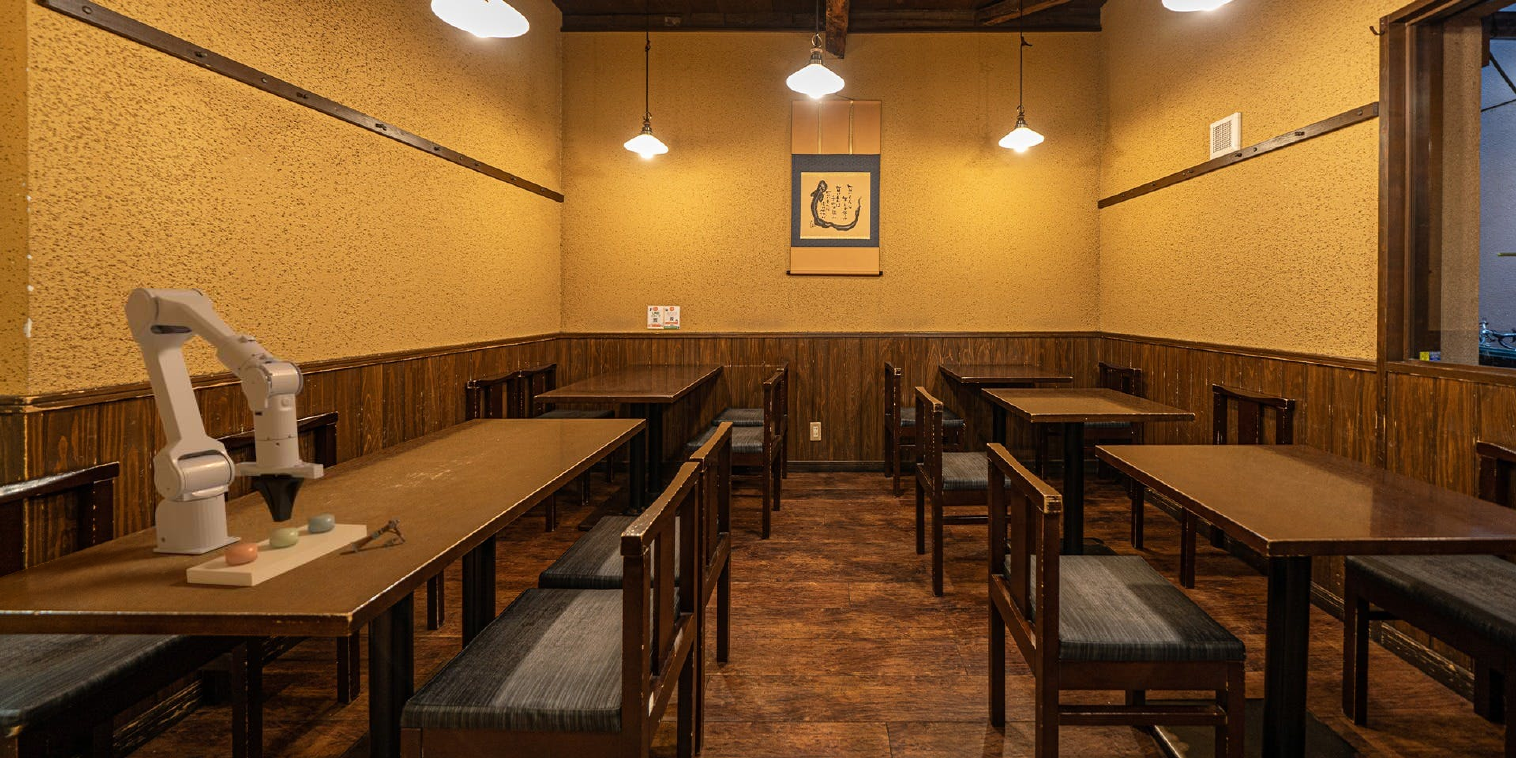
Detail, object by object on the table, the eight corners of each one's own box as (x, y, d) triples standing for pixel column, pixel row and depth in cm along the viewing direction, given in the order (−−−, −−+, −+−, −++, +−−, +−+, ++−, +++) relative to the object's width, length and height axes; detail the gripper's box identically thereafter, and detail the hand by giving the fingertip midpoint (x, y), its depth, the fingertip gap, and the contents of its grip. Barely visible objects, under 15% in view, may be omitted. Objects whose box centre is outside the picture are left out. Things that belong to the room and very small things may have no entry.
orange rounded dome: (218, 563, 109) (217, 550, 109) (241, 554, 113) (240, 542, 112) (242, 564, 108) (241, 551, 108) (264, 555, 112) (263, 543, 112)
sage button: (263, 546, 117) (262, 534, 116) (283, 538, 121) (282, 527, 120) (285, 547, 116) (284, 535, 116) (304, 539, 120) (303, 527, 120)
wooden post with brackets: (411, 538, 125) (398, 517, 123) (364, 566, 121) (350, 543, 120) (409, 536, 126) (396, 514, 125) (363, 563, 123) (349, 541, 121)
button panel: (187, 582, 108) (186, 569, 107) (312, 533, 131) (311, 522, 131) (252, 586, 106) (251, 572, 106) (366, 536, 129) (366, 525, 129)
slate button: (302, 531, 124) (301, 520, 124) (320, 524, 128) (319, 513, 128) (323, 532, 124) (322, 521, 124) (340, 525, 128) (339, 514, 128)
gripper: (335, 434, 119) (340, 515, 121) (258, 432, 122) (263, 511, 123) (301, 441, 112) (307, 527, 114) (220, 439, 115) (227, 523, 116)
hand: (282, 520), depth 118 cm, fingers closed
